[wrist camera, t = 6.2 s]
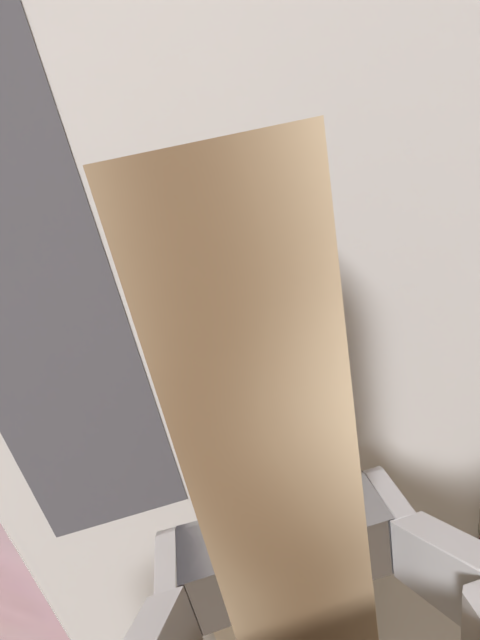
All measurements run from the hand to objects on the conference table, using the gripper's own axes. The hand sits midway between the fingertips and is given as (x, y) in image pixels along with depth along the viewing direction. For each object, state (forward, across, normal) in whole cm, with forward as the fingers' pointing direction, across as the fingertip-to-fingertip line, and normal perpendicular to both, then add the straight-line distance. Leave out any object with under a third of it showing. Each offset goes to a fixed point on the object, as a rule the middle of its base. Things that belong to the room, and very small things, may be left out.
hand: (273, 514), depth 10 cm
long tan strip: (+2, 0, 0) cm, 2 cm away
